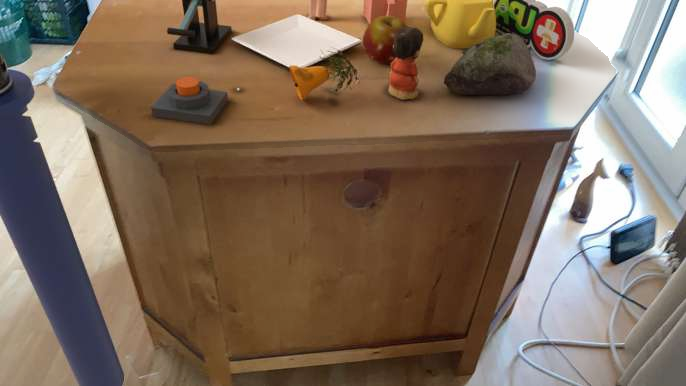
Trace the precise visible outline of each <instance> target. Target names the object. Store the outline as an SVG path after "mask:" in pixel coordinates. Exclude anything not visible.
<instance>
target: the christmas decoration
mask: <svg viewBox="0 0 686 386" xmlns="http://www.w3.org/2000/svg"><path fill="white" fill-rule="evenodd" d="M334 49H335V48H334ZM336 50H337V49H336ZM321 52H322V51H321ZM327 52H330V51H327ZM332 53H336V52H332ZM332 53H331V54H332ZM331 54H329V56H330V55H331ZM324 56H325V55H324ZM320 58H321V56H320ZM321 59H323V61H325V62H326V61H327V62H328V63H323V62H322V63H321V62H320V65H312V66H309V67H306V68H300V67H298V66H289V68H288V69H289V73H290V77H291V80H292V83H293V85H294V88H295V91H296V94H297V95H298V97H299V99H300V101H303V100H305V99H306V98H308V96H309V94H310V93H311V92H312V91H313V90H315V89H317V88H319V87H320V86H322V85H323V84H324V83H326V82H327V81H329V80H331V82H335V81H336V82H338V83H337V84H336V85H334V86H333V87H332V88H331V89H329V92H333V91H335V92H338V91H339V93H341V90H342V92H344V91H345V90H346V89H348V88H349V89H350V90H352V87H349V86H351V83H352V82H353V78H354V80H356V81H357V82H358V84H359V85H360V84H361V82H360V81H359V78H358V77H357V76H358V75H357V74H359V72H358V69H357V68H355V67H354V64H352V62H351V61H350V59H348V58H347V56H346V55H345V54H344V53H343V52H340V50H338V53H337V54H335V55H334V56H333V55H331V56H330V57H329V58H327V59H326V58H325V59H324V58H321ZM344 59H345V60H344ZM330 75H331V76H330ZM336 78H337V79H336ZM346 80H348V81H347V82H346ZM345 82H346V83H345ZM344 83H345V88H344V89H343V86H344ZM240 90H241V88H239V87H237V88H236V91H238V92H239V91H240ZM336 94H337V93H335V94H334V96H336Z"/></svg>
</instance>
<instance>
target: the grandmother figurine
mask: <svg viewBox="0 0 686 386" xmlns="http://www.w3.org/2000/svg"><path fill="white" fill-rule="evenodd" d="M308 6H309V7H308V14H309V15H308V16H307V18H309V19H311V20H314V21H316V20H317V18H318V20H319V21H326V20H328V17H327V15H326V14H327V9H328V8H327V7H328V0H309V5H308Z"/></svg>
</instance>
